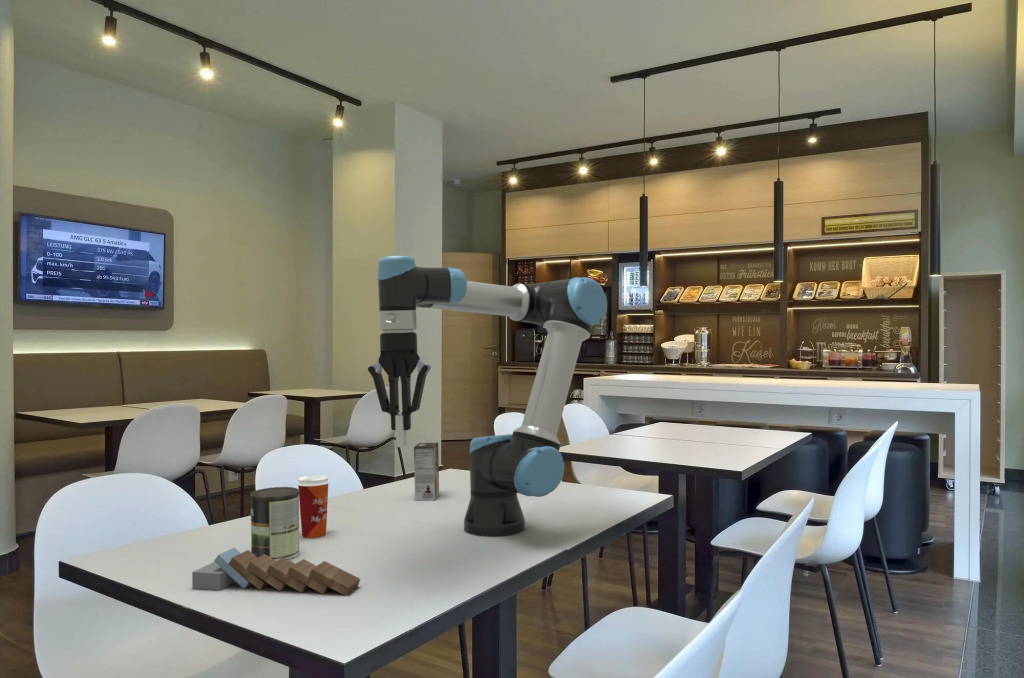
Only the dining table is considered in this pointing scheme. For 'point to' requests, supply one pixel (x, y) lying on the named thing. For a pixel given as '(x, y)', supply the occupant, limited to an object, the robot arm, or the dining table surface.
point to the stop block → (211, 578)
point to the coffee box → (426, 471)
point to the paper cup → (313, 505)
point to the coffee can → (275, 522)
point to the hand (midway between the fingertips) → (401, 445)
